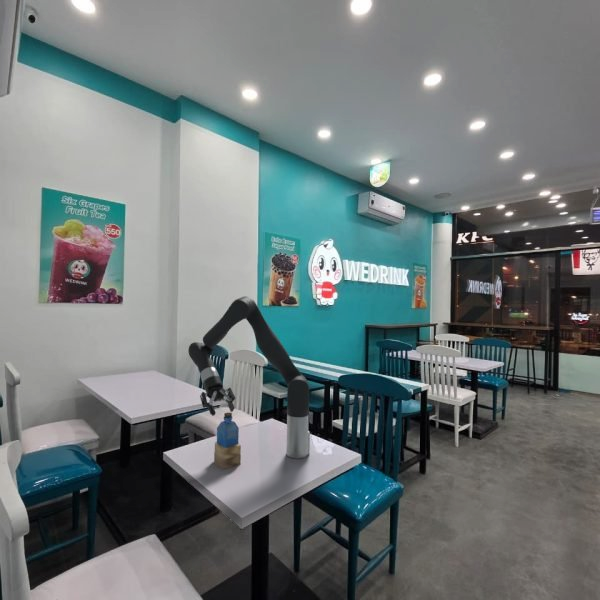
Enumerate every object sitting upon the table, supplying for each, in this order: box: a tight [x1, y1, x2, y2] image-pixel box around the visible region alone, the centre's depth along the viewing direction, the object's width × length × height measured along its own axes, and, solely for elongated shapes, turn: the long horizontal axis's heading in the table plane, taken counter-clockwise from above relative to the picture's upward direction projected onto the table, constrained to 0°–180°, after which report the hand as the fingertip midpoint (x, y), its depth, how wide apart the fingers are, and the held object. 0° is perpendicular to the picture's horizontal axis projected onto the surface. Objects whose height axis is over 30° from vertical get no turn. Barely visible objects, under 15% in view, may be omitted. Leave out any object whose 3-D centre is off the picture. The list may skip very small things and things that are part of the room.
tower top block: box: [214, 441, 242, 460], centre depth 136 cm, size 8×8×4 cm
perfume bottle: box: [216, 412, 240, 448], centre depth 137 cm, size 6×6×12 cm
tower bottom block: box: [213, 451, 242, 470], centre depth 136 cm, size 8×8×4 cm
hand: (223, 412), depth 139 cm, fingers open, 8 cm apart
